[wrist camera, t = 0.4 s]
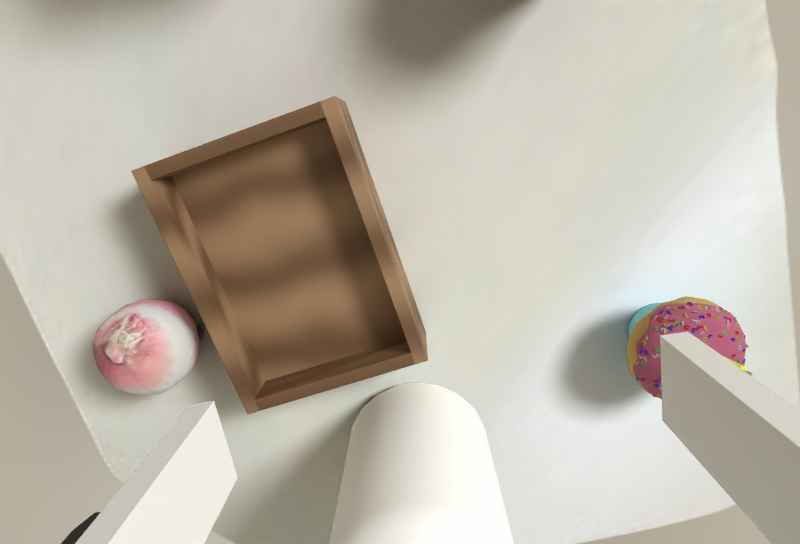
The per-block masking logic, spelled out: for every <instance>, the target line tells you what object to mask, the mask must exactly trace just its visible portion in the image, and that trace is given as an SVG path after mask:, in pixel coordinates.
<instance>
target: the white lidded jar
mask: <svg viewBox="0 0 800 544" xmlns="http://www.w3.org/2000/svg"><path fill="white" fill-rule="evenodd" d="M329 544H514V542H513V538H512V534H511V530H510V527H509V523H508V519H507V515H506V511H505V507H504V503H503V499H502V495H501V491H500V487H499V483H498V479H497V475H496V471H495V467H494V463H493V459H492V456H491V452H490V448H489V444H488V440H487V436H486V432H485V428H484V426H483V424H482V422H481V420H480V418H479V416H478V414H477V412H476V410H475V409H474V408H473V407H472V406H471V405H470V404H468V403H467V402H466V401H465V400H464V399H463V398H462V397H461V396H460V395H458V394H456V393H454V392H452V391H450V390H448V389H445V388H443V387H441V386H439V385H432V384H426V383H419V382H418V383H410V384H403V385H397V386H395V387H393V388H390V389H388V390H386V391H384V392H381V393H379V394H378V395H376V396H375V397H374V398H373V399H372V400H371V401H370V402H369V403H368V404H366V405H365V406H364V407H363V408H362V409H361V411H360V413H359V415H358V416H357V418H356V420H355V422H354V424H353V425H352V430H351V435H350V440H349V445H348V450H347V456H346V461H345V466H344V471H343V476H342V481H341V486H340V491H339V496H338V501H337V506H336V511H335V516H334V521H333V526H332V531H331V536H330V541H329Z"/></svg>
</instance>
